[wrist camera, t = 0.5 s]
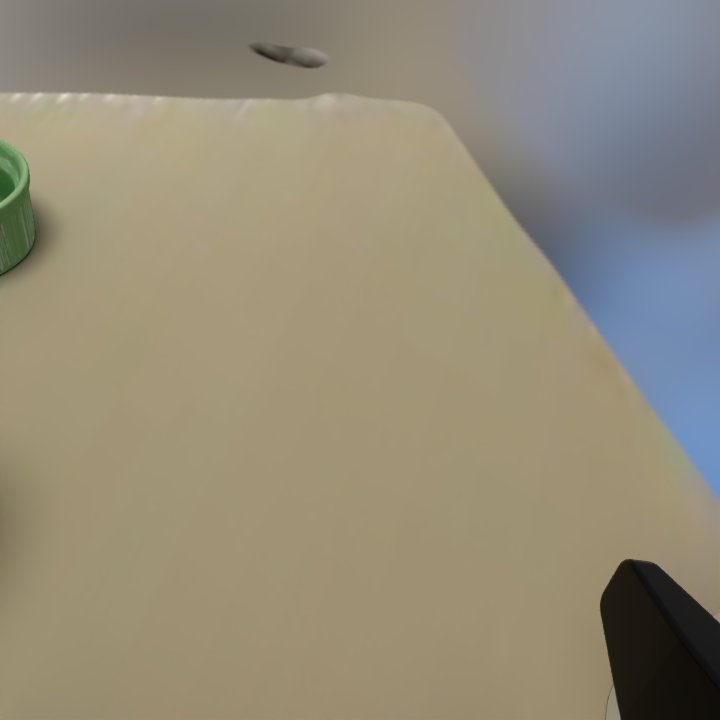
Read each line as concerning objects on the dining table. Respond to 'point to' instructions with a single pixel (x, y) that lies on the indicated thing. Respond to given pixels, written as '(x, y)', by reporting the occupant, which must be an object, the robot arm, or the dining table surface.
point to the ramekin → (14, 207)
